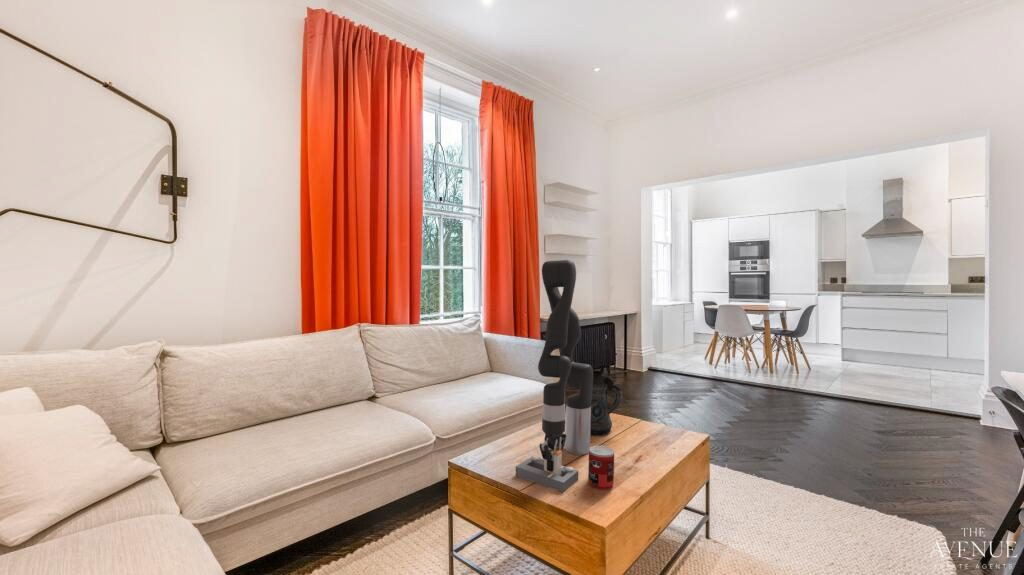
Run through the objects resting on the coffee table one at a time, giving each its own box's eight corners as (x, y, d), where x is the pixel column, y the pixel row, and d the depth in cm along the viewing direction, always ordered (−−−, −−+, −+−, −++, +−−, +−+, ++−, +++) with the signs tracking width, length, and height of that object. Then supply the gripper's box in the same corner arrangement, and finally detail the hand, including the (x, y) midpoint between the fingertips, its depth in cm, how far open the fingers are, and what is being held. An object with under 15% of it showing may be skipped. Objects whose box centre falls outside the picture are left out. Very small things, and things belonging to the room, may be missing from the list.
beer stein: (569, 422, 194) (571, 367, 193) (612, 422, 195) (613, 367, 194) (577, 436, 178) (579, 376, 177) (623, 436, 179) (625, 376, 178)
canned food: (585, 478, 141) (586, 445, 141) (609, 477, 142) (610, 445, 142) (591, 490, 134) (592, 455, 133) (616, 489, 134) (617, 455, 134)
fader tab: (547, 474, 143) (548, 446, 143) (561, 479, 140) (562, 450, 140) (543, 477, 141) (544, 449, 140) (557, 482, 138) (557, 453, 137)
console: (532, 464, 151) (532, 454, 151) (578, 479, 140) (578, 469, 140) (515, 475, 143) (515, 464, 143) (563, 492, 132) (563, 481, 132)
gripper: (552, 425, 132) (551, 480, 132) (574, 413, 143) (573, 464, 144) (532, 419, 136) (531, 473, 137) (554, 408, 147) (553, 458, 148)
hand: (552, 468), depth 140 cm, fingers closed on fader tab, 2 cm apart
